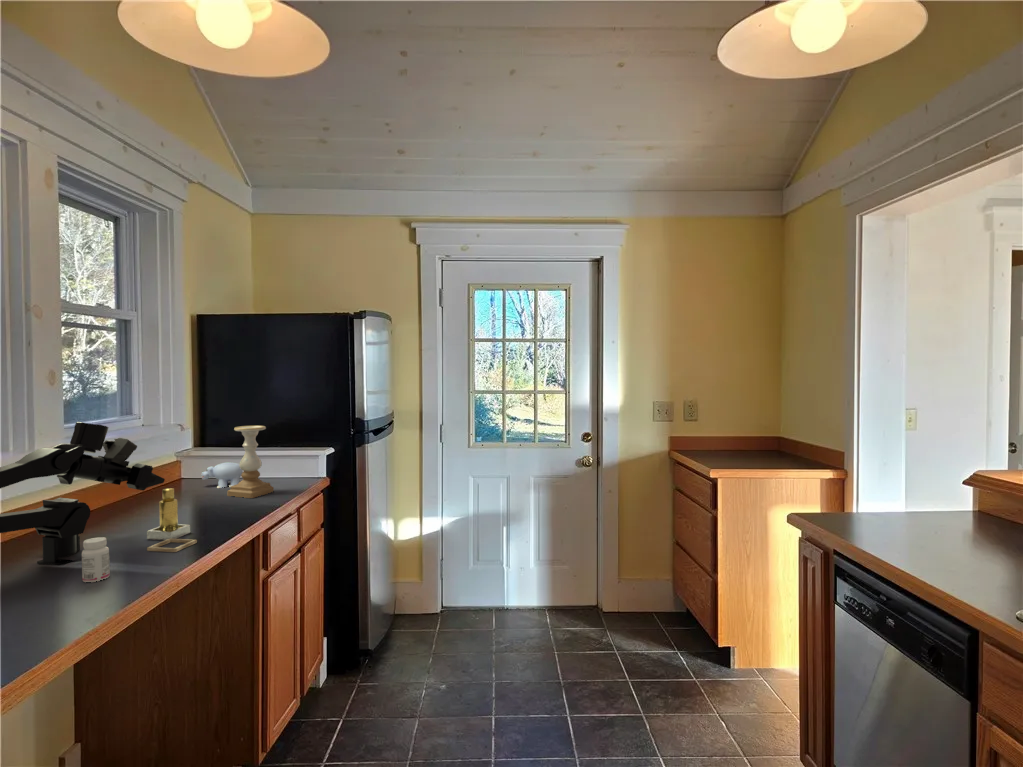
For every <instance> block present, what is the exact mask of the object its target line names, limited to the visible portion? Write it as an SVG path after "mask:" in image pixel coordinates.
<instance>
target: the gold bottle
mask: <svg viewBox="0 0 1023 767" xmlns="http://www.w3.org/2000/svg"><path fill="white" fill-rule="evenodd" d="M161 490H162V492H161V494H162V496H161V497H162V500H160V501H159V502H158V504H159V506H158V507H159V526H160V531H173V530H175V529H178V524H179V521H178V519H179V516H178V513H179V512H178V511H179V510H178V499H176V498H175V488H174V487H173V488H171V487H170V488H163V489H161Z"/></svg>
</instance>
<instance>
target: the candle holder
mask: <svg viewBox="0 0 1023 767" xmlns="http://www.w3.org/2000/svg"><path fill="white" fill-rule="evenodd" d="M266 429H267V427H266V426H265V425H241V426H235V427H234V429H233V430H234V431H235V432H241V435H242V436H243V437H244V441H243V444H242V445H241V446H242V447H243V449H244V455H243V457H242V458H241V459H240V461H239V463H238V464H239V467H240V469H241V470H243V473H242V474H241V477H240V478H242V480H240V482H239V483H238V484H237V485H233V486H231V487H230V488H229V490H227V492H226V493H227V494H226V495H227V497H231V496H235V497H234V498H242V497H244V498H245V499H254V498H258V496H259V497H261V495H262V496H265V495H269V494H272V493H274V492H273V491H274V488H275V487H274V486H272V485H271V483H270V482H264V481H263V480H262V479H260V478H259V477H260V476H261V473H260V471H259V469H260V468H261V467H262V460H261V459H260V456H258V454H257V452H256V451H257V450H256V449H257V448H258V446H259V443H258V442H257V440H256V438H257V436H258V434H259V432H260V431H264V430H266ZM271 492H272V493H271ZM268 493H269V494H268ZM244 498H243V499H244Z"/></svg>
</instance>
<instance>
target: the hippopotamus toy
mask: <svg viewBox="0 0 1023 767" xmlns="http://www.w3.org/2000/svg"><path fill="white" fill-rule="evenodd" d="M243 472H244V471H243V470H241V469H240V467H239V463H238V462H237V463H236V462H221V463H218V464H216V465H215V466H213V465H211V466H208V467H207V468H206V470H205V471H202V472H201V475H200V476H201V479H202V480H204V481H205V480H208V479H211V478H213V479H214V478H215V479H216V480H218V483H217V486H216V488H217V489H225V488H224V487H226V488H227V487H228V486H229V487H228V488H231V486H233V485H237V484H238V483H239V482H241V479H240V478H242V477H241V474H242V473H243ZM228 484H229V485H228ZM222 487H223V488H222Z"/></svg>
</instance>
